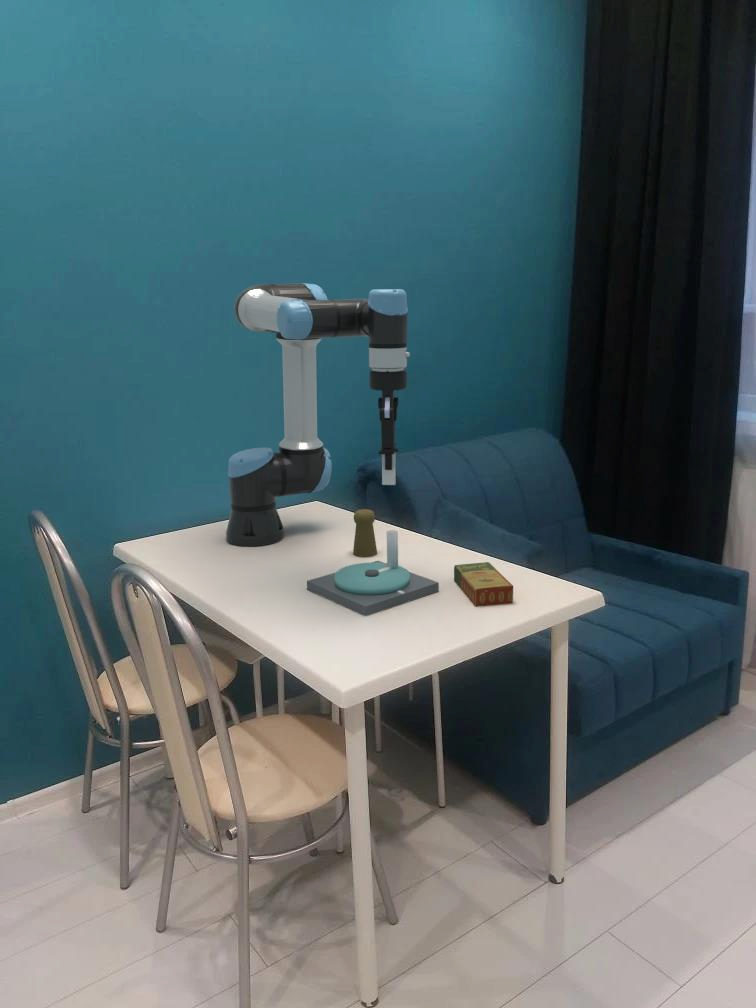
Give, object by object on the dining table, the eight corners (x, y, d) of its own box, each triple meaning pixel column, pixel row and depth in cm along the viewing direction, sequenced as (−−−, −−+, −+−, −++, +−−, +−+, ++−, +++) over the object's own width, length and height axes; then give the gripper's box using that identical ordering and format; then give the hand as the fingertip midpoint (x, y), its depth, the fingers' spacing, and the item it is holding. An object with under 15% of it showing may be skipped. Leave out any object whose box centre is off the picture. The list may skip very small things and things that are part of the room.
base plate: (307, 589, 168) (306, 579, 167) (378, 568, 180) (378, 559, 180) (365, 616, 153) (365, 605, 152) (438, 591, 165) (438, 581, 165)
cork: (378, 549, 194) (377, 507, 192) (376, 557, 188) (375, 513, 186) (354, 549, 195) (353, 507, 192) (351, 557, 189) (350, 513, 186)
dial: (373, 600, 155) (372, 555, 153) (319, 582, 166) (317, 539, 164) (425, 579, 166) (424, 537, 164) (371, 564, 177) (370, 523, 175)
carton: (474, 608, 157) (474, 588, 156) (452, 581, 172) (452, 563, 171) (513, 604, 158) (514, 584, 157) (489, 578, 174) (489, 560, 173)
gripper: (406, 372, 149) (406, 492, 155) (407, 365, 161) (407, 476, 168) (367, 372, 149) (368, 491, 156) (371, 366, 162) (373, 476, 168)
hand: (388, 483), depth 162 cm, fingers closed
